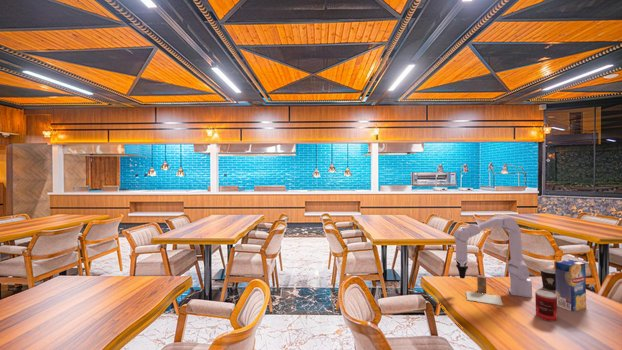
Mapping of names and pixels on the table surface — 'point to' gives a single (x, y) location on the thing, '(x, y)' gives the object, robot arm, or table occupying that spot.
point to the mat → (484, 298)
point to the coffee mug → (548, 279)
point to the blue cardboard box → (570, 284)
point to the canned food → (546, 305)
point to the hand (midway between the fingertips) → (462, 275)
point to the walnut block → (481, 284)
